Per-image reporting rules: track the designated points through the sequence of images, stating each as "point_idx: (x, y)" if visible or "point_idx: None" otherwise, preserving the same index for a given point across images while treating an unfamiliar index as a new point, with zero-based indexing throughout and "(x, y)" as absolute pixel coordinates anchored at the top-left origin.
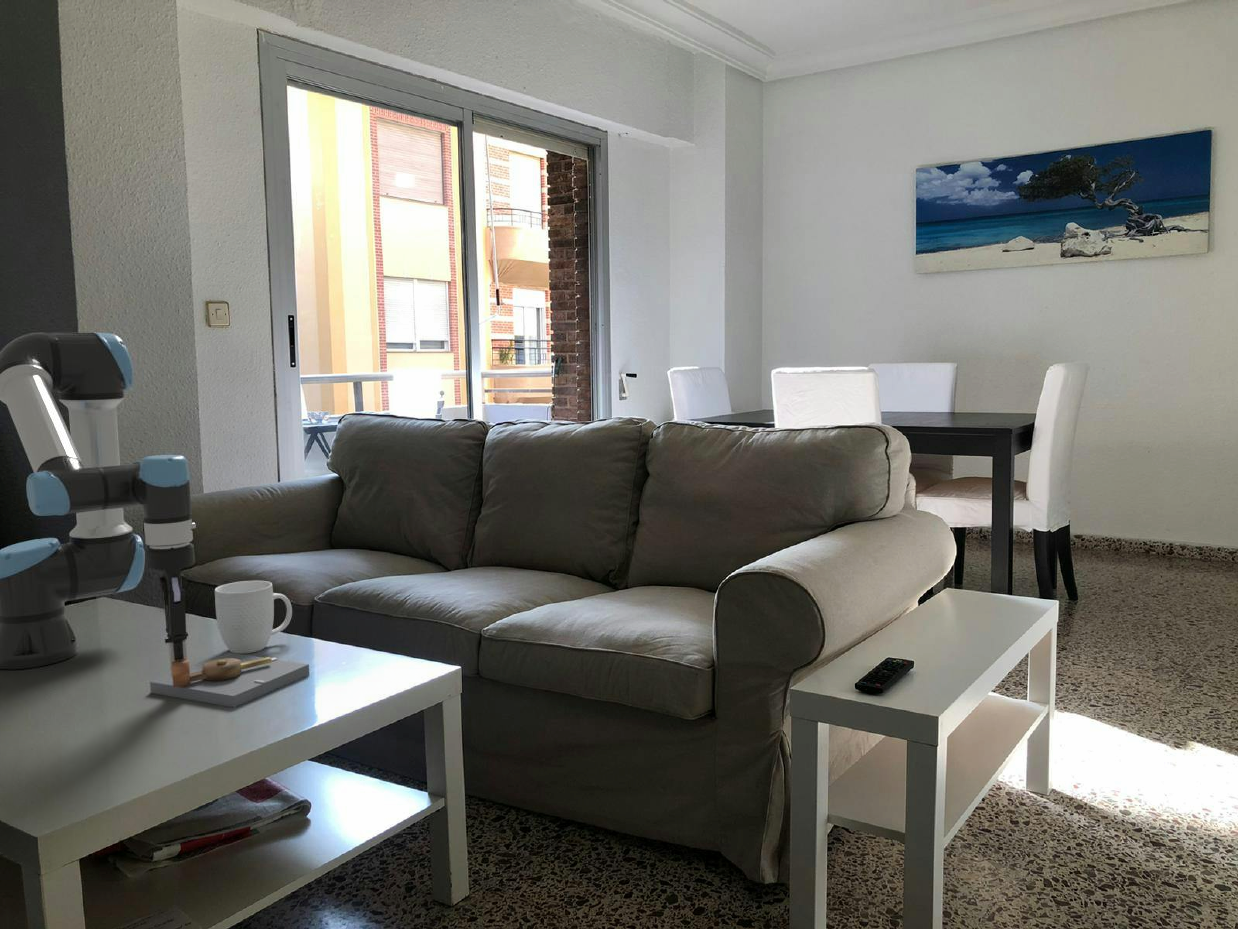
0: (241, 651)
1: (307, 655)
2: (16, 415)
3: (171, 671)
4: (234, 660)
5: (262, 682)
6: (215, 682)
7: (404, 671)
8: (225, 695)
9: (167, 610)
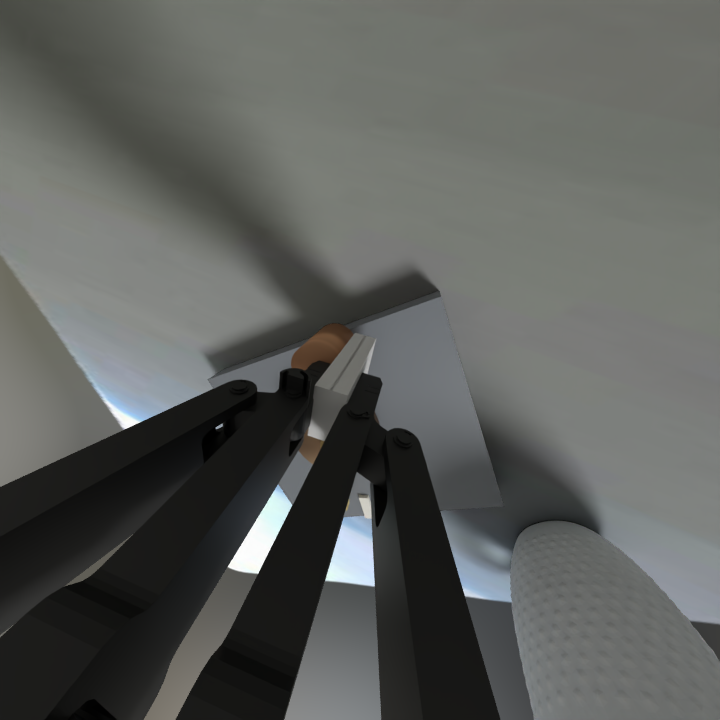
0: (533, 527)
1: None
2: None
3: (349, 340)
4: None
5: None
6: None
7: (246, 548)
8: (223, 373)
9: (203, 534)
